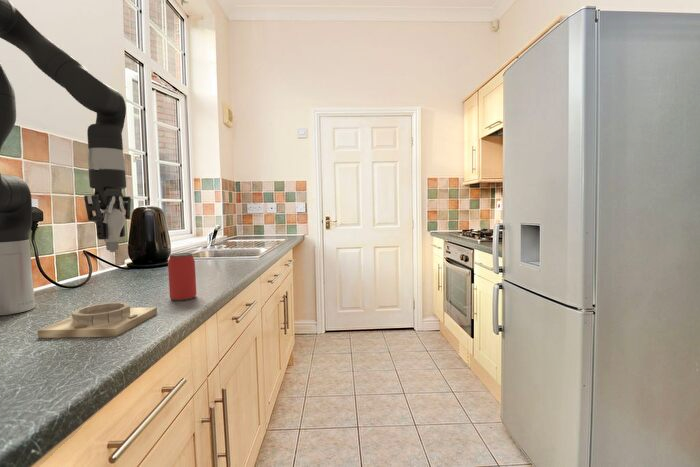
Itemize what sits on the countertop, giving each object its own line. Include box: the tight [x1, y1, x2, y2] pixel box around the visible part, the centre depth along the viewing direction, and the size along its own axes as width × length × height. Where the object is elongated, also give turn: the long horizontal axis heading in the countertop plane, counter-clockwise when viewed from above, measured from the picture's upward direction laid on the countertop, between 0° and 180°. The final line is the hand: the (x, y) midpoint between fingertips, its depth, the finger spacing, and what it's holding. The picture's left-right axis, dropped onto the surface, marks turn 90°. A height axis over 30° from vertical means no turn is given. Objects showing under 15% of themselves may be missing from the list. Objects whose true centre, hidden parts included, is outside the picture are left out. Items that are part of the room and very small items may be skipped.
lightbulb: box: [101, 208, 126, 253], centre depth 91 cm, size 6×6×11 cm
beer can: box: [167, 252, 197, 302], centre depth 100 cm, size 7×7×12 cm
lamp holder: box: [37, 301, 158, 339], centre depth 78 cm, size 15×15×4 cm
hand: (111, 237), depth 91 cm, fingers closed on lightbulb, 5 cm apart
